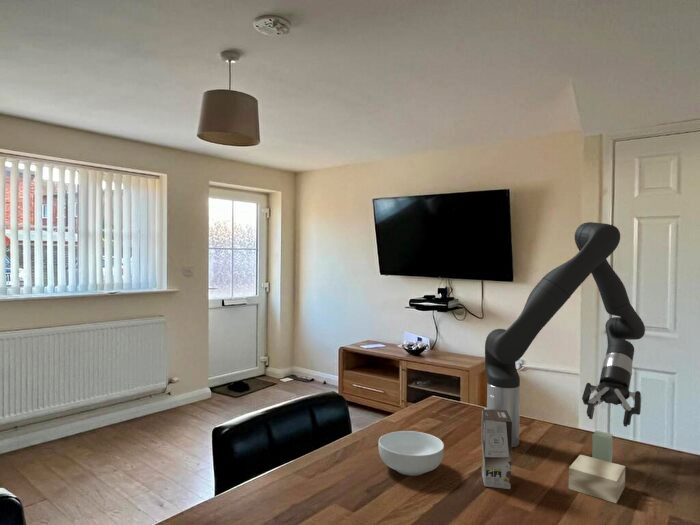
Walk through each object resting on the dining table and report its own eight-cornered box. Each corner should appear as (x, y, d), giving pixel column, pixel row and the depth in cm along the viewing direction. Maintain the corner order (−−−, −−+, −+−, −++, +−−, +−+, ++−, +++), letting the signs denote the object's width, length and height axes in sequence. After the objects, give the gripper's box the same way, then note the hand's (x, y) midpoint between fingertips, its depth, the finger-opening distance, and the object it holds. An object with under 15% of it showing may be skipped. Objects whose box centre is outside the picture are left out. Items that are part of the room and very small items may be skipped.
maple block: (568, 488, 110) (568, 467, 110) (579, 473, 118) (580, 454, 118) (616, 503, 104) (616, 481, 104) (624, 486, 111) (625, 466, 111)
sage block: (592, 464, 123) (592, 434, 123) (595, 459, 126) (596, 430, 126) (608, 469, 121) (609, 438, 120) (612, 464, 124) (612, 434, 124)
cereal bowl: (456, 468, 120) (456, 441, 120) (419, 492, 108) (419, 462, 108) (403, 449, 132) (403, 425, 132) (364, 468, 120) (365, 441, 120)
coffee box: (511, 489, 109) (512, 421, 109) (483, 487, 111) (484, 419, 110) (506, 472, 118) (507, 409, 118) (480, 469, 120) (481, 407, 119)
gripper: (587, 361, 139) (576, 408, 130) (643, 368, 129) (635, 420, 121) (591, 375, 143) (581, 422, 134) (646, 383, 134) (639, 434, 125)
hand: (607, 421), depth 127 cm, fingers open, 8 cm apart
